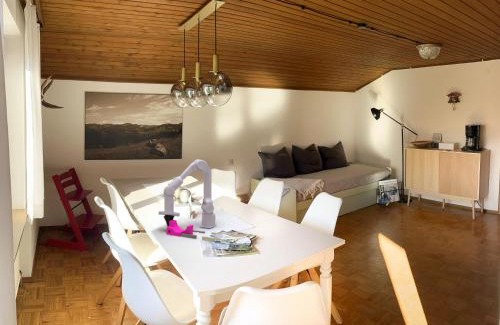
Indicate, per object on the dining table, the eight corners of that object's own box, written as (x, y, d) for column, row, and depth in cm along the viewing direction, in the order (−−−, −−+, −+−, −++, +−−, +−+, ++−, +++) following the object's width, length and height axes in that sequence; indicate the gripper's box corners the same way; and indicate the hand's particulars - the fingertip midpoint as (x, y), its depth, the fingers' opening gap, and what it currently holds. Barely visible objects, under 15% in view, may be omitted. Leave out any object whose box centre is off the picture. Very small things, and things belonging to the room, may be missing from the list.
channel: (180, 231, 245) (180, 228, 245) (205, 234, 238) (205, 231, 238) (170, 235, 234) (170, 232, 234) (195, 239, 228) (195, 235, 228)
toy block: (166, 234, 236) (166, 222, 234) (172, 231, 242) (173, 219, 240) (186, 239, 230) (187, 228, 228) (192, 236, 235) (193, 225, 234)
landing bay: (212, 235, 237) (212, 232, 237) (240, 238, 230) (240, 235, 230) (201, 240, 226) (201, 236, 225) (231, 243, 218) (231, 240, 218)
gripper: (155, 205, 240) (155, 227, 240) (175, 207, 234) (175, 229, 235) (162, 203, 246) (162, 224, 247) (181, 205, 241) (181, 227, 241)
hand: (169, 226), depth 241 cm, fingers closed
